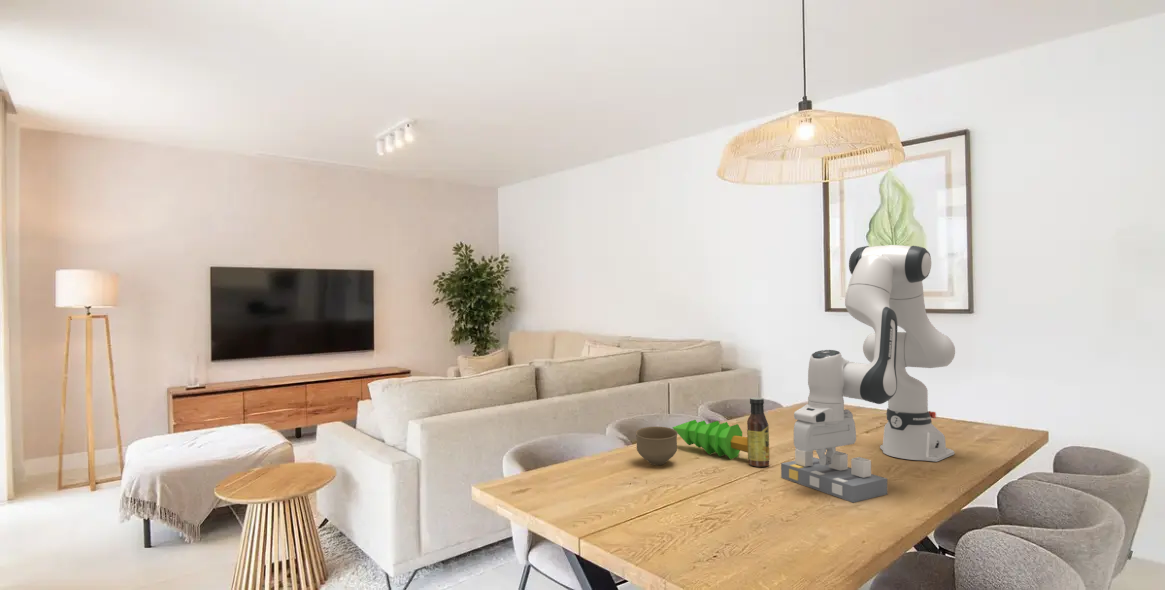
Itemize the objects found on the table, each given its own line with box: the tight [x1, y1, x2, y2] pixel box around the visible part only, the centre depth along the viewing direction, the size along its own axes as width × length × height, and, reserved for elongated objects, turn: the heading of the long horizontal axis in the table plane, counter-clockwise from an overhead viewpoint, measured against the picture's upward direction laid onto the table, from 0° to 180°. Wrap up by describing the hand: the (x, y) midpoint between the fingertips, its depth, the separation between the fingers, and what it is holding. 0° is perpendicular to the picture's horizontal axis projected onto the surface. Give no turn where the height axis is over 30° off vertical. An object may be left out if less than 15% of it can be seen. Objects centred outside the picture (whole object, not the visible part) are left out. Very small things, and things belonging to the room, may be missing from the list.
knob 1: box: [794, 448, 814, 467], centre depth 163 cm, size 3×4×4 cm
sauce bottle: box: [746, 397, 770, 468], centre depth 178 cm, size 7×6×20 cm
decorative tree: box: [671, 419, 748, 460], centre depth 191 cm, size 11×12×30 cm
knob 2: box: [829, 450, 849, 471], centre depth 159 cm, size 3×4×4 cm
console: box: [780, 456, 888, 504], centre depth 158 cm, size 13×23×4 cm, turn 28°
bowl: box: [635, 426, 679, 466], centre depth 179 cm, size 13×13×10 cm
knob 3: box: [850, 456, 872, 478], centre depth 153 cm, size 3×4×4 cm
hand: (825, 464), depth 157 cm, fingers closed
